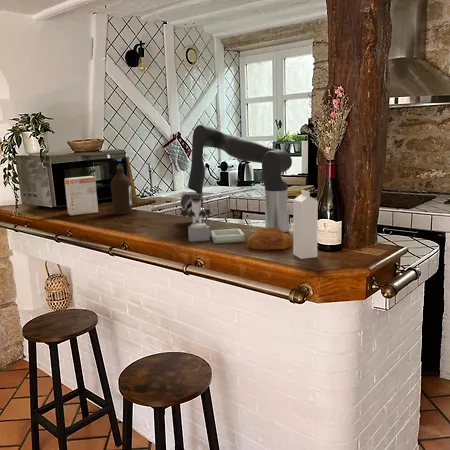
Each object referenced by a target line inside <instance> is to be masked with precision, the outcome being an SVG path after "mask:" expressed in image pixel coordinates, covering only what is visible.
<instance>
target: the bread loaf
mask: <svg viewBox="0 0 450 450" xmlns="http://www.w3.org/2000/svg"><path fill="white" fill-rule="evenodd" d="M246 241H247V242H246V243H247V245H248V246H249V247H250V248H251V249H252V250H263V251H265V250H268V251H270V250H284V249H288V248H290V247H291V245H292V242H293V240H292V237H291V236H290V235H289V234H288V233H286V232H283V231H282V230H280V229H278V228H265V227H263V228H262V227H261V228H258V229H256V230H255V232H254V233H252V235H250V236H249V238H247V240H246Z"/></svg>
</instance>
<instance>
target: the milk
mask: <svg viewBox="0 0 450 450" xmlns="http://www.w3.org/2000/svg"><path fill="white" fill-rule="evenodd" d="M300 191H301V194H299V195H298V196H296V197H295V198H294V199H292V201H293V204H292V205H293V208H292V209H293V216H292V217H293V219H292V221H293V223H292V224H293V229H292V230H293V234H292V235H293V237H292V239H293V240H292V242H293V244H292V245H293V246H292V247H293V249H292V250H293V251H292V252H293V253H292V254H293V256H295V257H297V258H299V259H300V260H305V259H314V258H317V257H318V224H319V222H318V216H319V215H318V214H319V213H318V210H319V209H318V208H319V205H318V204H319V201H318V200H317V199H315V198H314V197H312V196H310V194H311V193H310V191H308V190H306V189H301V190H300Z"/></svg>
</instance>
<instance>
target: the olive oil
mask: <svg viewBox="0 0 450 450" xmlns="http://www.w3.org/2000/svg"><path fill="white" fill-rule="evenodd" d="M110 190H111V197H112V198H111V199H112V204H113V214H114V215H118V216H119V215H130V214H133V206H132V205H133V201H132V199H133V198H132V197H133V196H132V195H133V193H132V182H131V179H130V178H129V177H128V176H127V175H126V174H125V173H124V166H123V165H117V166H116V174H115V175H114V177H113V178H112V179H111V181H110Z"/></svg>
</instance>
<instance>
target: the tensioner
mask: <svg viewBox="0 0 450 450" xmlns="http://www.w3.org/2000/svg"><path fill="white" fill-rule="evenodd" d="M187 228H188V230H187V231H188V232H187V233H188V234H187V235H188V241H189V242H202V241H211V231H210V226H209V225H208V224H207V223H205V222H203V223H194V224H193V223H191V224H190V225H189V226H187Z"/></svg>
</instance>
